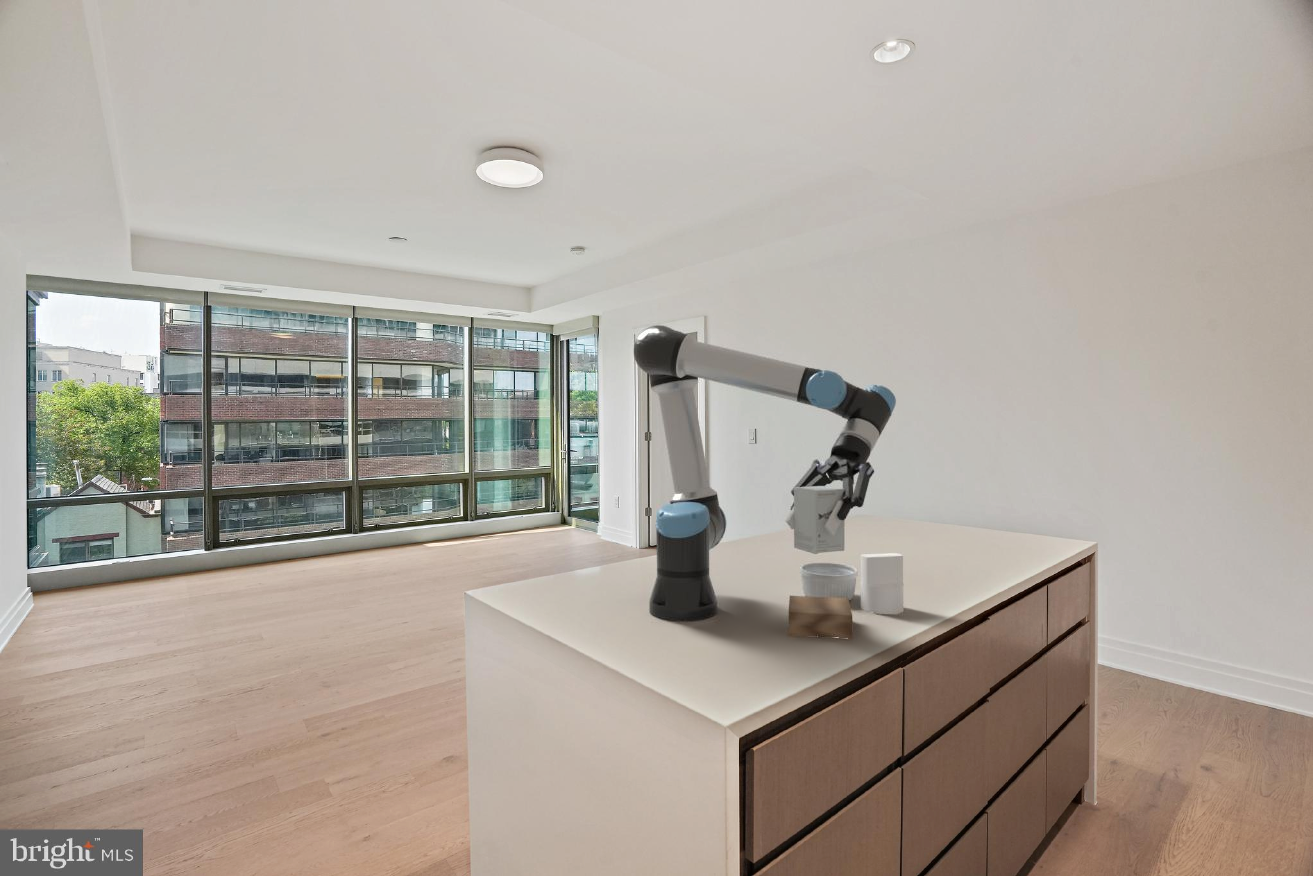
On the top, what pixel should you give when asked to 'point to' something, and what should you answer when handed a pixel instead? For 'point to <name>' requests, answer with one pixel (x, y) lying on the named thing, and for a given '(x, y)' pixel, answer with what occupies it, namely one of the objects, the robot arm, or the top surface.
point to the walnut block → (820, 617)
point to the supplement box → (816, 519)
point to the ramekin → (828, 580)
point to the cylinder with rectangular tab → (882, 583)
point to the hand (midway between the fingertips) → (809, 527)
